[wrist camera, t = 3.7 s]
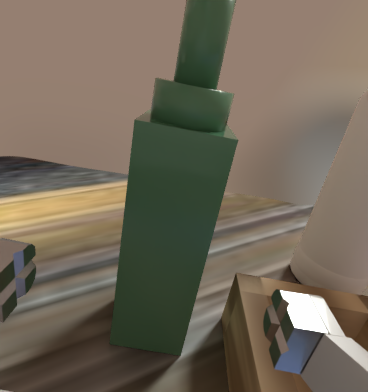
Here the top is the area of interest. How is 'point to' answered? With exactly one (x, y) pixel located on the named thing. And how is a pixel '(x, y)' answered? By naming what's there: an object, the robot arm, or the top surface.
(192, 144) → the green bottle
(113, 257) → the top surface
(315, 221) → the bottle
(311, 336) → the robot arm
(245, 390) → the oak rest
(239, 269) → the top surface
